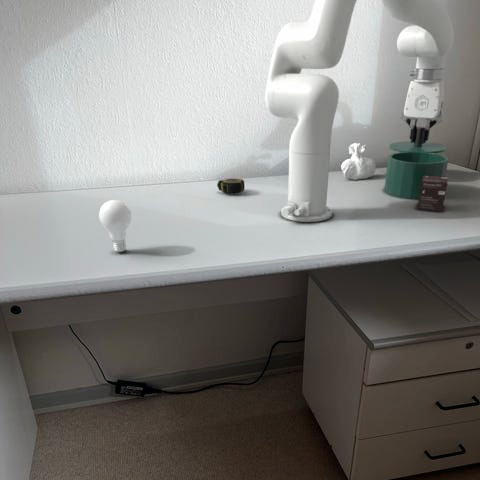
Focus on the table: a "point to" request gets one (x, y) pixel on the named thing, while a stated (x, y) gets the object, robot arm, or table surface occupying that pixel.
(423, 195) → the box
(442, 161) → the pot
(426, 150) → the lid
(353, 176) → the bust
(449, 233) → the table surface
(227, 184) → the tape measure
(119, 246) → the lightbulb
